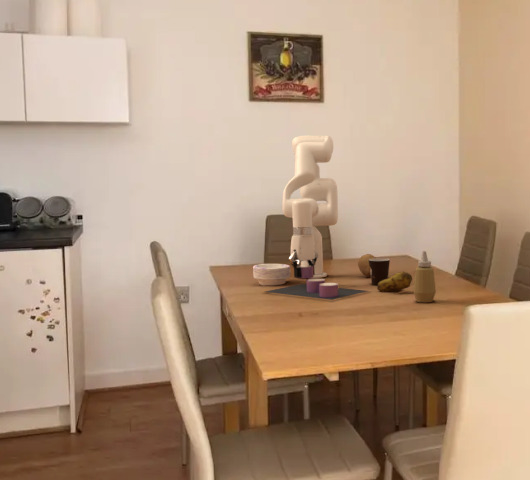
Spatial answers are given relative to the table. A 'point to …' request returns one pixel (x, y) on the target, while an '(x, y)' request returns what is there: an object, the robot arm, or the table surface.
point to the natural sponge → (365, 264)
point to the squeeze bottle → (424, 281)
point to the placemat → (302, 291)
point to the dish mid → (314, 285)
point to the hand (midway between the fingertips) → (304, 276)
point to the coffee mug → (379, 269)
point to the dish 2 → (328, 290)
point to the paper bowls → (271, 273)
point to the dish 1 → (306, 271)
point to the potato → (395, 282)
